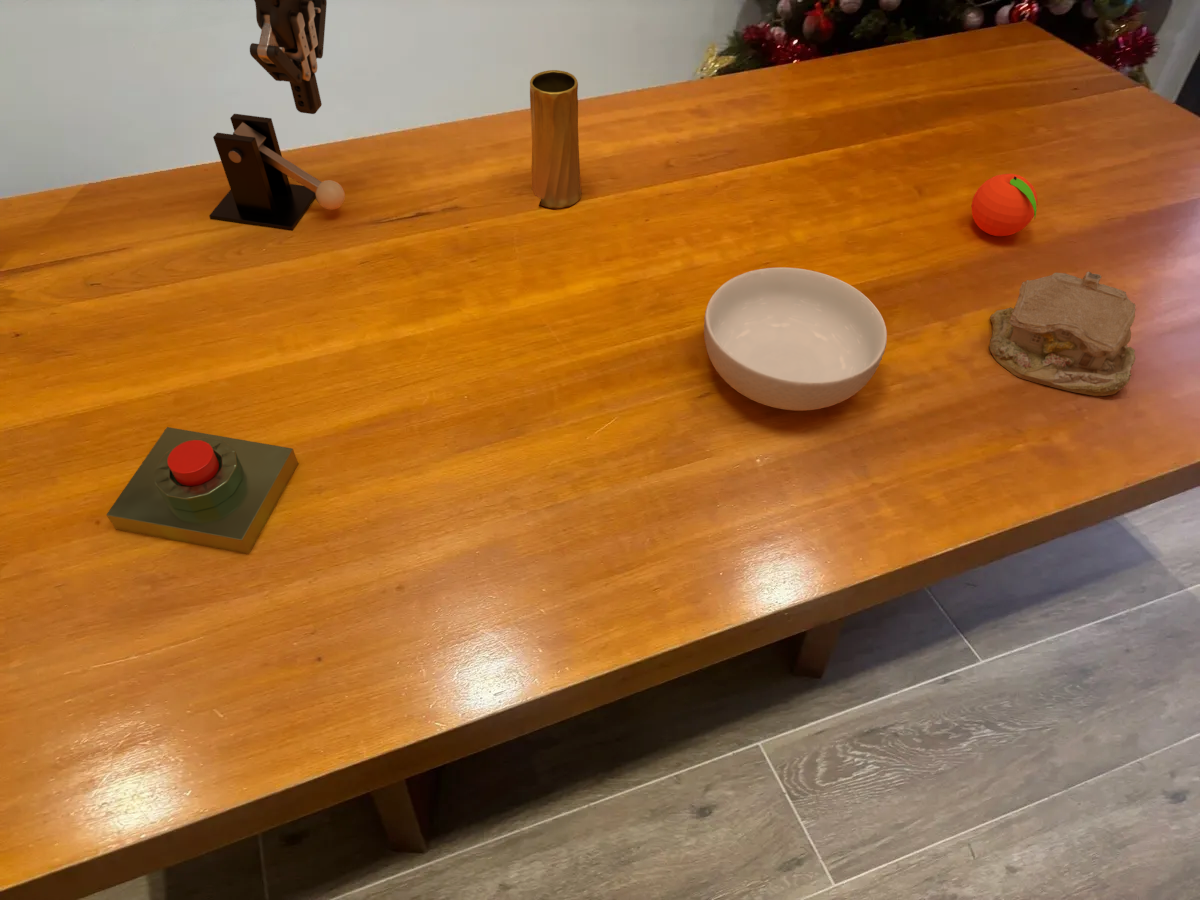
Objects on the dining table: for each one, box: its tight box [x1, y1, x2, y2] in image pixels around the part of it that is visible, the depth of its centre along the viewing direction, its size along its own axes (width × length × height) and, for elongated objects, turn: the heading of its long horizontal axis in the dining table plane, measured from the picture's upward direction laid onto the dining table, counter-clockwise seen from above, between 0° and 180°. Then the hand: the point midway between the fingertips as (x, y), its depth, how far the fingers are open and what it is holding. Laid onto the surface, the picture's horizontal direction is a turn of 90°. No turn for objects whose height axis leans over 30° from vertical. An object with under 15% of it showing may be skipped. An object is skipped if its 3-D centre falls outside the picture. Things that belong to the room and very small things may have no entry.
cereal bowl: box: [703, 266, 888, 412], centre depth 87 cm, size 17×17×7 cm
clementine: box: [971, 173, 1038, 237], centre depth 103 cm, size 8×7×7 cm
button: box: [167, 440, 219, 486], centre depth 75 cm, size 4×4×2 cm
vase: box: [529, 69, 583, 209], centre depth 103 cm, size 6×6×14 cm
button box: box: [106, 426, 299, 555], centre depth 77 cm, size 12×10×4 cm
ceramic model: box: [989, 271, 1137, 397], centre depth 88 cm, size 14×11×10 cm
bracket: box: [208, 113, 317, 232], centre depth 101 cm, size 10×8×11 cm
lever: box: [232, 122, 346, 211], centre depth 100 cm, size 13×3×3 cm
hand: (309, 109), depth 94 cm, fingers closed
